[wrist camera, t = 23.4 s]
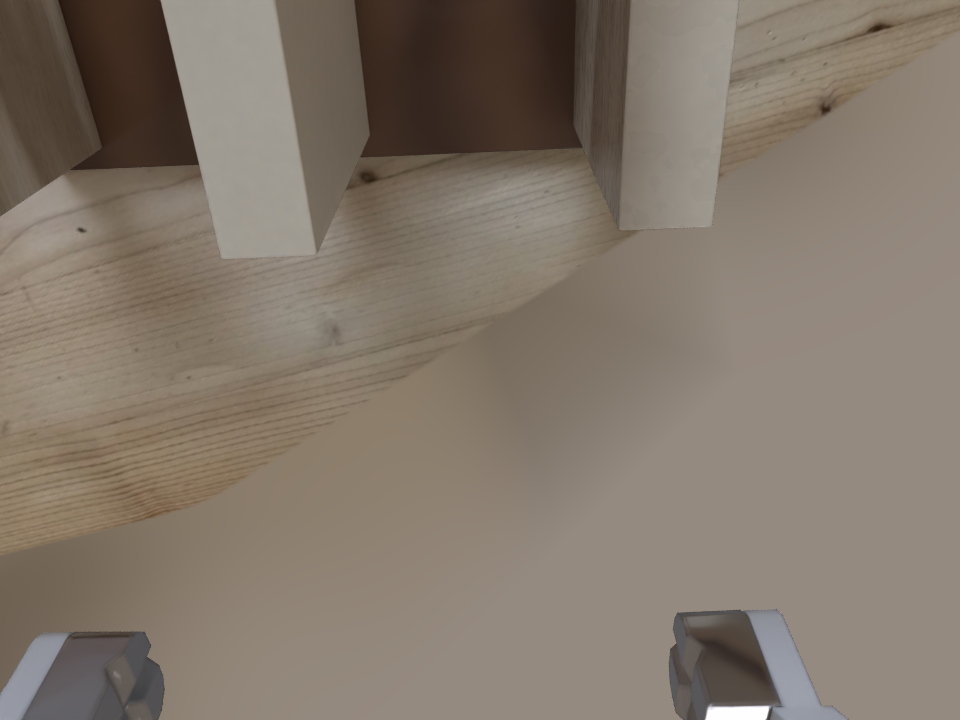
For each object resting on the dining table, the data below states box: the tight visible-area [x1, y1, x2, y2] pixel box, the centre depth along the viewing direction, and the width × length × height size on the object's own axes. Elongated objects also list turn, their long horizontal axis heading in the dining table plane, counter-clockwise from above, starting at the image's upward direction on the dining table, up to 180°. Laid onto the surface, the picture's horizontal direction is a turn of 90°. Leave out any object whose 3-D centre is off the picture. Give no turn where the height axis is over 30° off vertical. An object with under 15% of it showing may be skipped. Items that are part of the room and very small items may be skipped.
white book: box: [161, 0, 370, 260], centre depth 28 cm, size 3×8×14 cm, turn 2°
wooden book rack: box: [0, 0, 740, 231], centre depth 28 cm, size 28×10×14 cm, turn 92°
